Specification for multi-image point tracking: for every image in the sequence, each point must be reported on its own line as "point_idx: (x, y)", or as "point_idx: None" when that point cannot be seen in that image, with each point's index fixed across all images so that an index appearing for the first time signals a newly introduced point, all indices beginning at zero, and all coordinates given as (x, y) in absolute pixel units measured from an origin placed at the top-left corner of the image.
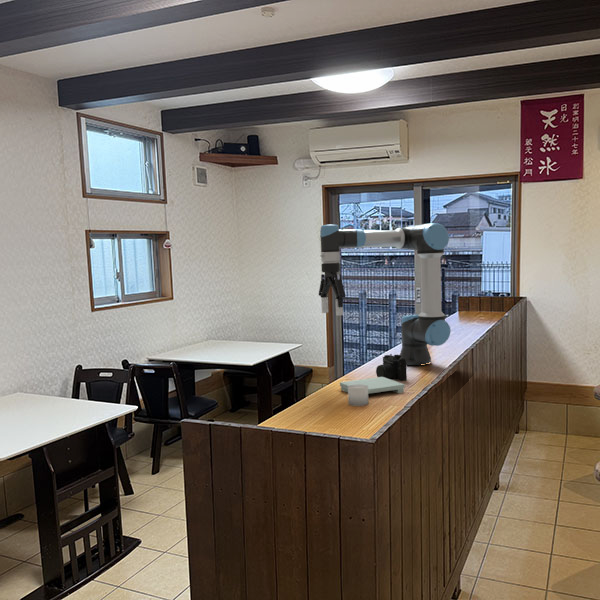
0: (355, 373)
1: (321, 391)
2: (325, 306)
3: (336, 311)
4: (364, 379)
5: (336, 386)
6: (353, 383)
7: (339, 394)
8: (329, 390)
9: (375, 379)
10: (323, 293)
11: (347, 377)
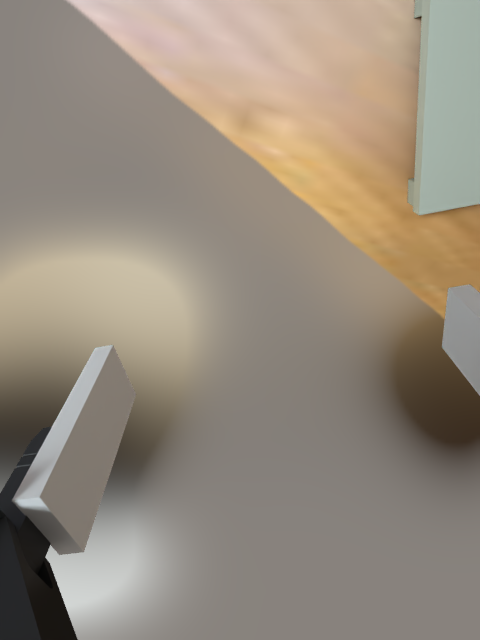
0: (126, 32)
1: (388, 270)
2: (104, 417)
3: (471, 372)
4: (433, 92)
5: (347, 204)
6: (469, 168)
7: (462, 226)
8: (390, 243)
9: (466, 33)
10: (66, 618)
11: (207, 108)
